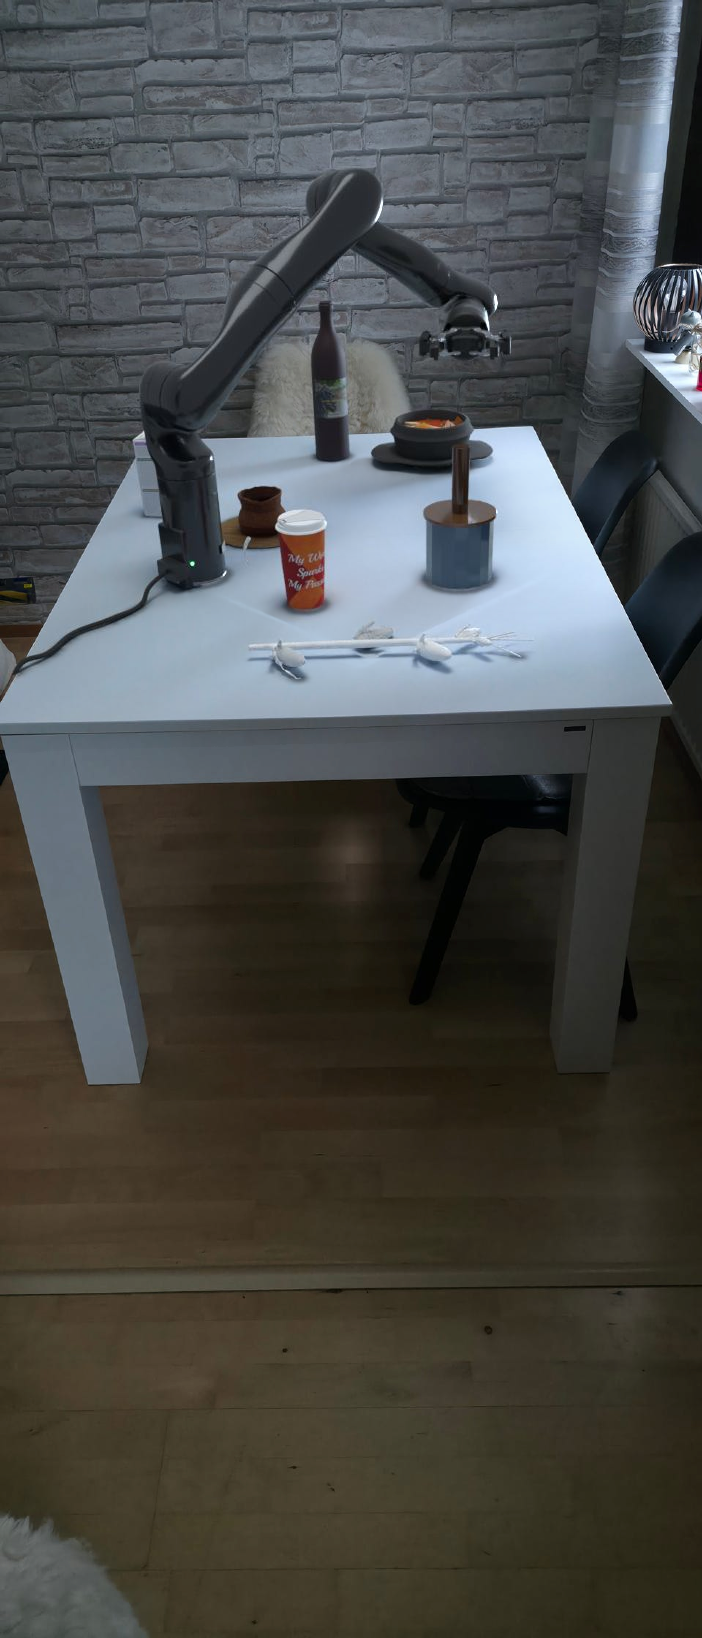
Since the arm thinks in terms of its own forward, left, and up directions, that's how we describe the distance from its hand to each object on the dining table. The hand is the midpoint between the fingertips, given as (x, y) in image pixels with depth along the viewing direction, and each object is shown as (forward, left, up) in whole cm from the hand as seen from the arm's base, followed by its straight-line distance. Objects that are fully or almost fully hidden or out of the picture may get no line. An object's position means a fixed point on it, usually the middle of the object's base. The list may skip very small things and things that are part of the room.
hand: (464, 353), depth 170 cm
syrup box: (-21, +56, -32) cm, 68 cm away
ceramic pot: (-15, +34, -32) cm, 49 cm away
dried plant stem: (-36, -18, -32) cm, 51 cm away
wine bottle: (+23, +56, -32) cm, 69 cm away
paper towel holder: (-8, -7, -21) cm, 24 cm away
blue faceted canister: (-9, -7, -32) cm, 34 cm away
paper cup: (-31, +4, -32) cm, 45 cm away
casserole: (+34, +38, -32) cm, 60 cm away
